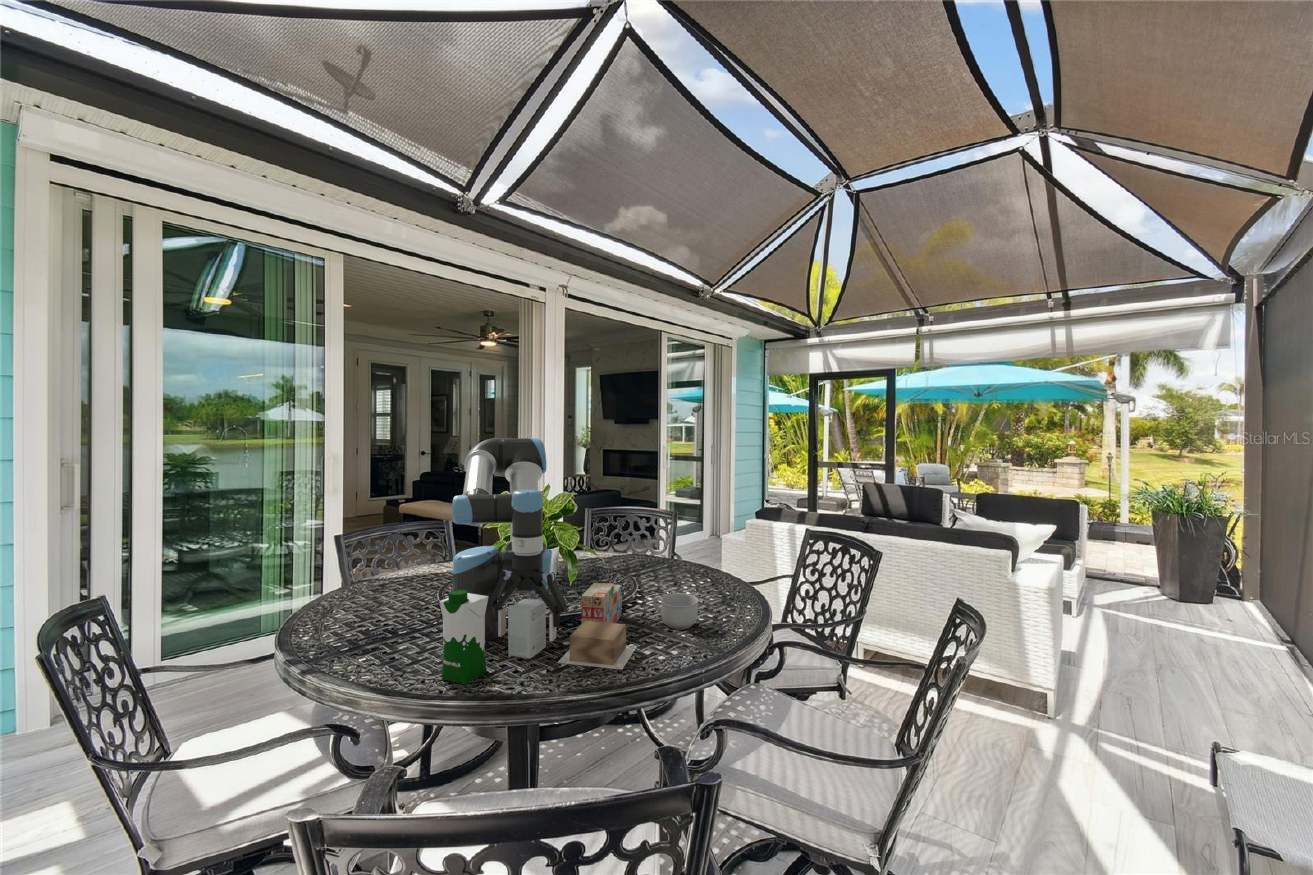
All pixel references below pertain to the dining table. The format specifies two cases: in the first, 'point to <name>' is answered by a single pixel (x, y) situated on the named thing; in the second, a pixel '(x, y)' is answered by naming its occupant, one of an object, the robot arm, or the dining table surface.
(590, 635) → the walnut brick
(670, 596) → the teacup
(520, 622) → the small box
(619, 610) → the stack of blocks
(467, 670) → the milk carton
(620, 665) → the baseplate
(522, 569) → the robot arm
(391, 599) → the dining table surface
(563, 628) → the dining table surface
